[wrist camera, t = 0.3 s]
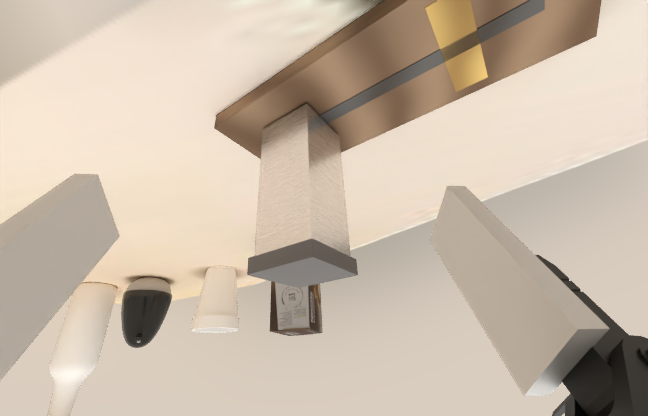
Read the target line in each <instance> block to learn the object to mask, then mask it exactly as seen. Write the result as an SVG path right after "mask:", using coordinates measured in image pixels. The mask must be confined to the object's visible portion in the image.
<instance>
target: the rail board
mask: <svg viewBox="0 0 648 416" xmlns="http://www.w3.org/2000/svg"><path fill="white" fill-rule="evenodd" d="M600 6H601V0H384V1H383V2H381V3H380V4H378V5H377V6H375V7H374V8H373V9H371V10H370V11H368V12H367V13H365V14H364V15H362V16H361V17H359V18H358V19H357V20H355V21H354V22H352V23H351V24H349V25H348V26H346V27H345V28H343V29H342V30H340V31H339V32H338V33H336V34H335V35H333V36H332V37H330V38H329V39H327V40H326V41H324V42H323V43H322V44H320V45H319V46H317V47H316V48H314V49H313V50H311V51H310V52H308V53H307V54H306V55H304V56H303V57H301V58H300V59H298V60H297V61H295V62H294V63H292V64H291V65H289V66H288V67H287V68H285V69H284V70H282V71H281V72H279V73H278V74H276V75H275V76H273V77H272V78H271V79H269V80H268V81H266V82H265V83H263V84H262V85H260V86H259V87H257V88H256V89H255V90H253V91H252V92H250V93H249V94H247V95H246V96H244V97H243V98H241V99H240V100H239V101H237V102H236V103H234V104H233V105H231V106H230V107H228V108H227V109H225V110H224V111H222V112H221V113H220V114H218V115H217V116H216V121H215V127H214V128H215V129H216V130H218V131H219V132H221V133H222V134H224V135H225V136H227V137H228V138H230V139H231V140H233V141H234V142H236V143H237V144H239V145H240V146H242V147H243V148H245V149H246V150H248V151H249V152H251V153H252V154H254V155H255V156H257V157H258V158H260V159H261V147H262V130H263V129H264V128H266V127H268V126H269V125H271V124H273V123H275V122H276V121H278V120H280V119H281V118H283V117H285V116H286V115H288V114H290V113H292V112H293V111H295V110H297V109H298V108H300V107H302V106H304V105H305V104H308V105H309V106H310V107H311V108H312V109H313V110H314V111H315V112H316V113H317V114H318V115H319V116H320V117H321V118H322V119H323V120H324V121H325V122H326V123H327V124H328V125H329V126H330V127H331V128H332V130H333V131H334V132H335V133H336V134H337V135H338V136H339V139H340V150H341V152H343V151H346V150H348V149H350V148H352V147H354V146H356V145H359V144H361V143H363V142H365V141H367V140H370V139H372V138H374V137H376V136H378V135H381V134H383V133H385V132H387V131H389V130H392V129H394V128H396V127H398V126H400V125H403V124H405V123H407V122H409V121H411V120H414V119H416V118H418V117H420V116H422V115H424V114H427V113H429V112H431V111H433V110H435V109H438V108H440V107H442V106H444V105H446V104H449V103H451V102H453V101H455V100H457V99H460V98H462V97H464V96H466V95H468V94H471V93H473V92H475V91H477V90H479V89H482V88H484V87H486V86H488V85H490V84H493V83H495V82H497V81H499V80H501V79H503V78H506V77H508V76H510V75H512V74H514V73H517V72H519V71H521V70H523V69H525V68H528V67H530V66H532V65H534V64H536V63H539V62H541V61H543V60H545V59H547V58H550V57H552V56H554V55H556V54H558V53H561V52H563V51H565V50H567V49H569V48H571V47H574V46H576V45H578V44H580V43H582V42H585V41H587V40H589V39H591V38H593V37H596V35H597V28H598V21H599V13H600Z"/></svg>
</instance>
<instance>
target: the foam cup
mask: <svg viewBox="0 0 648 416" xmlns="http://www.w3.org/2000/svg"><path fill="white" fill-rule="evenodd" d="M238 324H239V318H238V308H237V284H236V269H234V268H232V267H228V266H213V267H209V268H208V269H207V272H206V275H205V279H204V283H203V286H202V290H201V293H200V297H199V301H198V304H197V308H196V312H195V315H194V318H193V319H192V326H191V331H193V332H203V333H221V332H232V331H237V330H238Z"/></svg>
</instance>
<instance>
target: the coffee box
mask: <svg viewBox="0 0 648 416" xmlns="http://www.w3.org/2000/svg"><path fill="white" fill-rule="evenodd" d="M270 331H271V332H275V333H280V334H283V335H288V336H293V335H306V334H316V333H322V314H321V294H320V283H319V284H315V285H310V286H305V287H301V288H296V287H292V286H288V285H285V284H281V283H277V282H273V281H271V313H270Z"/></svg>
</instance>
